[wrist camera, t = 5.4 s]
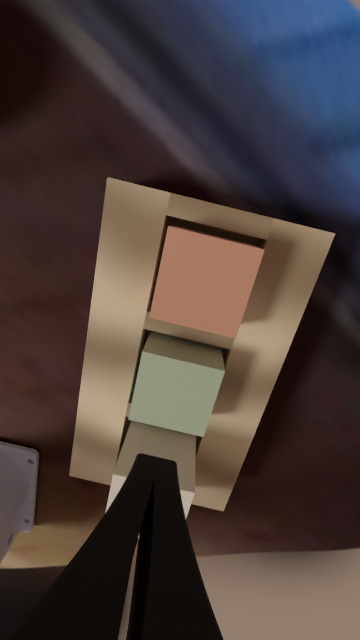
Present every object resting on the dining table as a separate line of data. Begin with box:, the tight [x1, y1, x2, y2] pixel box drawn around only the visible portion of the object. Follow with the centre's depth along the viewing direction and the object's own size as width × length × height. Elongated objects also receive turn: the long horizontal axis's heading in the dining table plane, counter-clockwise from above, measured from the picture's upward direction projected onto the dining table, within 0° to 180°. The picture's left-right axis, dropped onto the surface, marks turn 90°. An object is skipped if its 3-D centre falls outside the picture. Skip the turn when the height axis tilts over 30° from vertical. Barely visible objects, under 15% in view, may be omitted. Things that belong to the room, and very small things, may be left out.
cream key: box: [105, 421, 196, 539], centre depth 17 cm, size 4×4×4 cm
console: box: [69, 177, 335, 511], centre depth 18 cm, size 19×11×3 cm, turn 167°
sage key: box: [128, 331, 225, 437], centre depth 16 cm, size 4×4×4 cm
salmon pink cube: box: [149, 225, 265, 339], centre depth 14 cm, size 4×4×4 cm
